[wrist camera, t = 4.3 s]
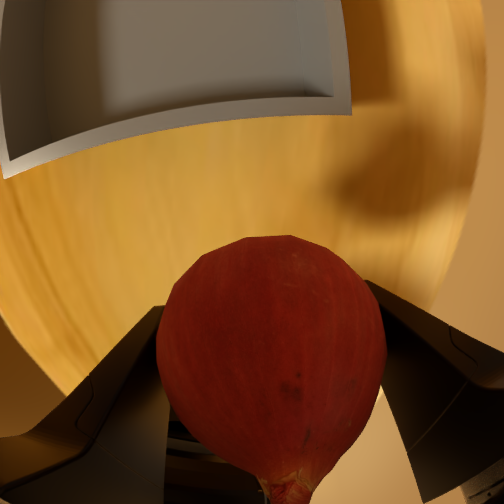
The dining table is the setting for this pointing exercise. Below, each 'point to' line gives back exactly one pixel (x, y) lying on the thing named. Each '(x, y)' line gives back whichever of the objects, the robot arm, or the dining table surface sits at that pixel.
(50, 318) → the dining table surface
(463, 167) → the dining table surface
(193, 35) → the bin
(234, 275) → the onion
